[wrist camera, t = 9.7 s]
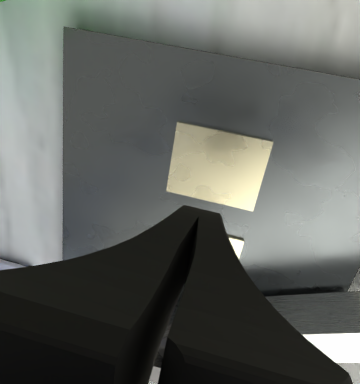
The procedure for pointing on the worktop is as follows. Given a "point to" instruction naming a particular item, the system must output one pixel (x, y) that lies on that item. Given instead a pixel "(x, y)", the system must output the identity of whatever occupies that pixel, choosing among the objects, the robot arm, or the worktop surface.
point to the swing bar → (318, 322)
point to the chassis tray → (213, 157)
